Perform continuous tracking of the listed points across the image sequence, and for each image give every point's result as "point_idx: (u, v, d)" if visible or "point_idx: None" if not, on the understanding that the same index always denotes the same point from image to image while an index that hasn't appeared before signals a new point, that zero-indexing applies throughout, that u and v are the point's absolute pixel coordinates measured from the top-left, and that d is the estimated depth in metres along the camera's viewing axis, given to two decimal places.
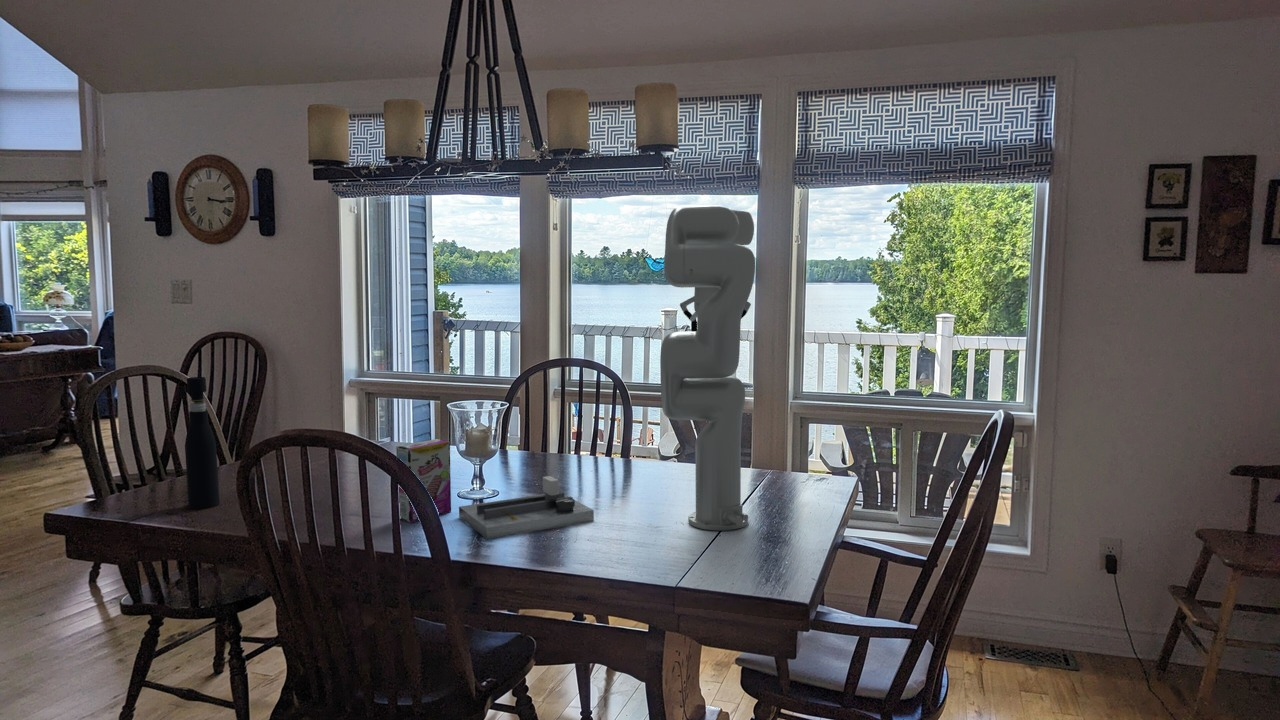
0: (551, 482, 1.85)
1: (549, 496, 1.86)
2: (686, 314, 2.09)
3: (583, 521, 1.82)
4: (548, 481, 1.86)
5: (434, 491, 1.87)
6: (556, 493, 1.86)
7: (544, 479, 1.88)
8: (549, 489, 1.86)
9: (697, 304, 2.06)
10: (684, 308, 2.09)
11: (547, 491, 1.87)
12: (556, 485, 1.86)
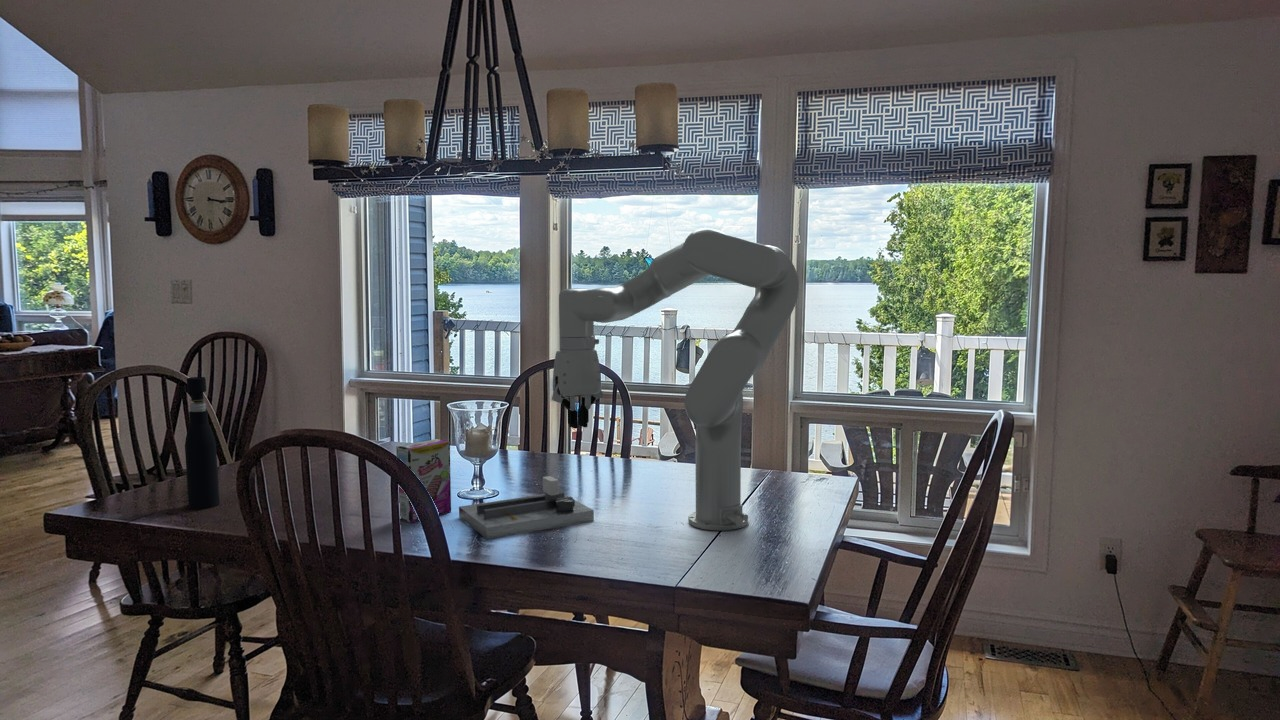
0: (551, 482, 1.85)
1: (549, 496, 1.86)
2: None
3: (583, 521, 1.82)
4: (548, 481, 1.86)
5: (433, 491, 1.87)
6: (556, 493, 1.86)
7: (544, 479, 1.88)
8: (549, 489, 1.86)
9: None
10: None
11: (547, 491, 1.87)
12: (556, 485, 1.86)
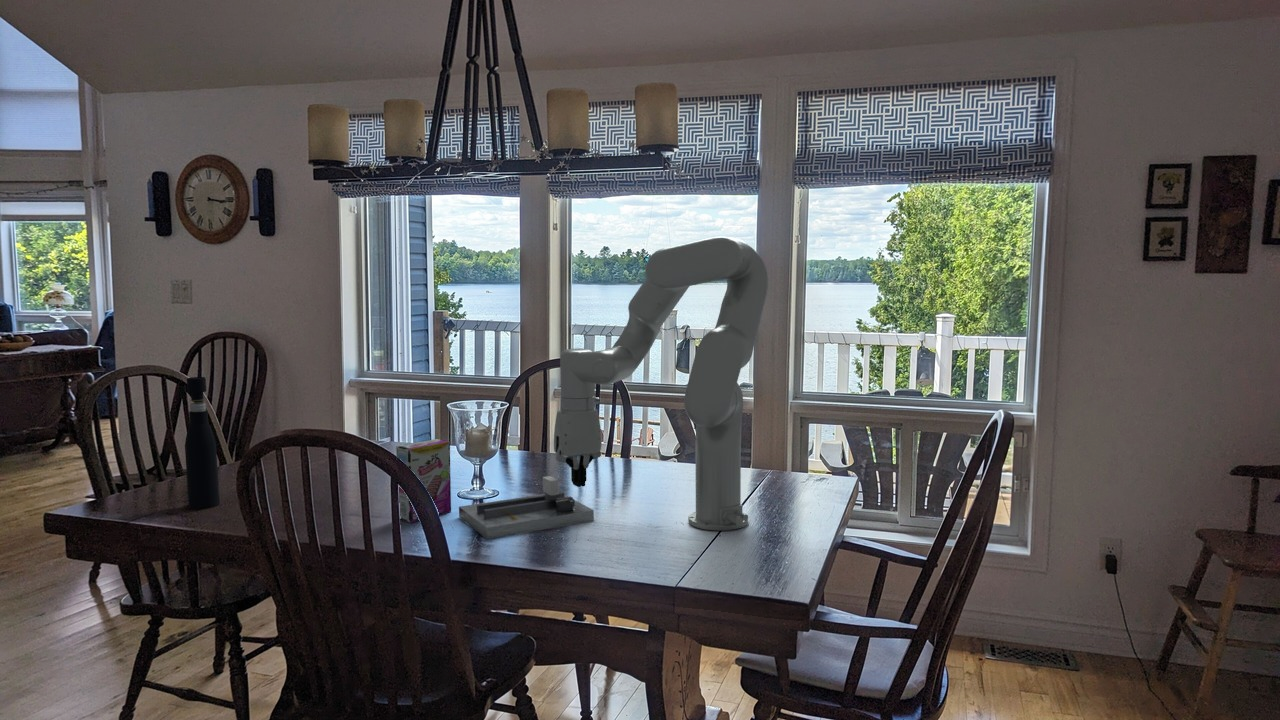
0: (551, 482, 1.85)
1: (549, 496, 1.86)
2: None
3: (583, 521, 1.82)
4: (548, 481, 1.86)
5: (433, 491, 1.87)
6: (556, 493, 1.86)
7: (544, 479, 1.88)
8: (549, 489, 1.86)
9: None
10: None
11: (547, 491, 1.87)
12: (556, 485, 1.86)
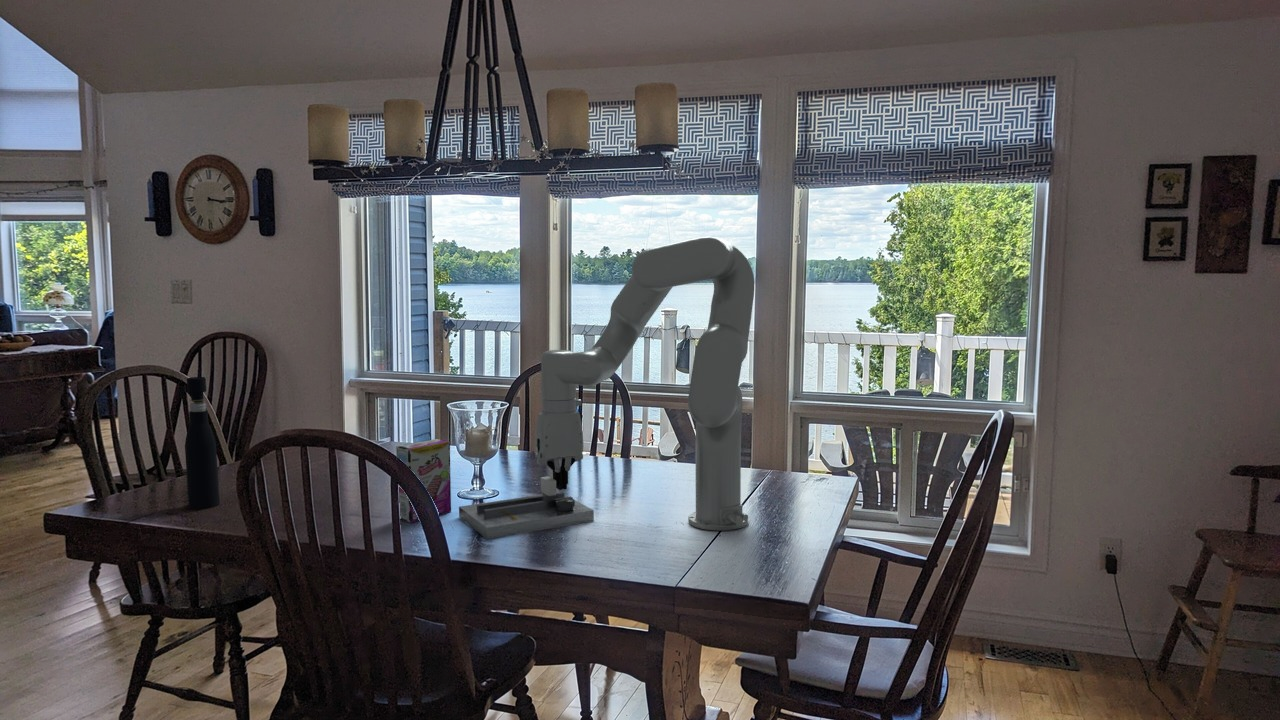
0: (549, 482, 1.85)
1: (547, 496, 1.86)
2: None
3: (583, 521, 1.82)
4: (546, 481, 1.85)
5: (433, 491, 1.87)
6: (554, 493, 1.86)
7: (542, 479, 1.88)
8: (547, 489, 1.85)
9: None
10: None
11: (545, 491, 1.87)
12: (554, 485, 1.85)
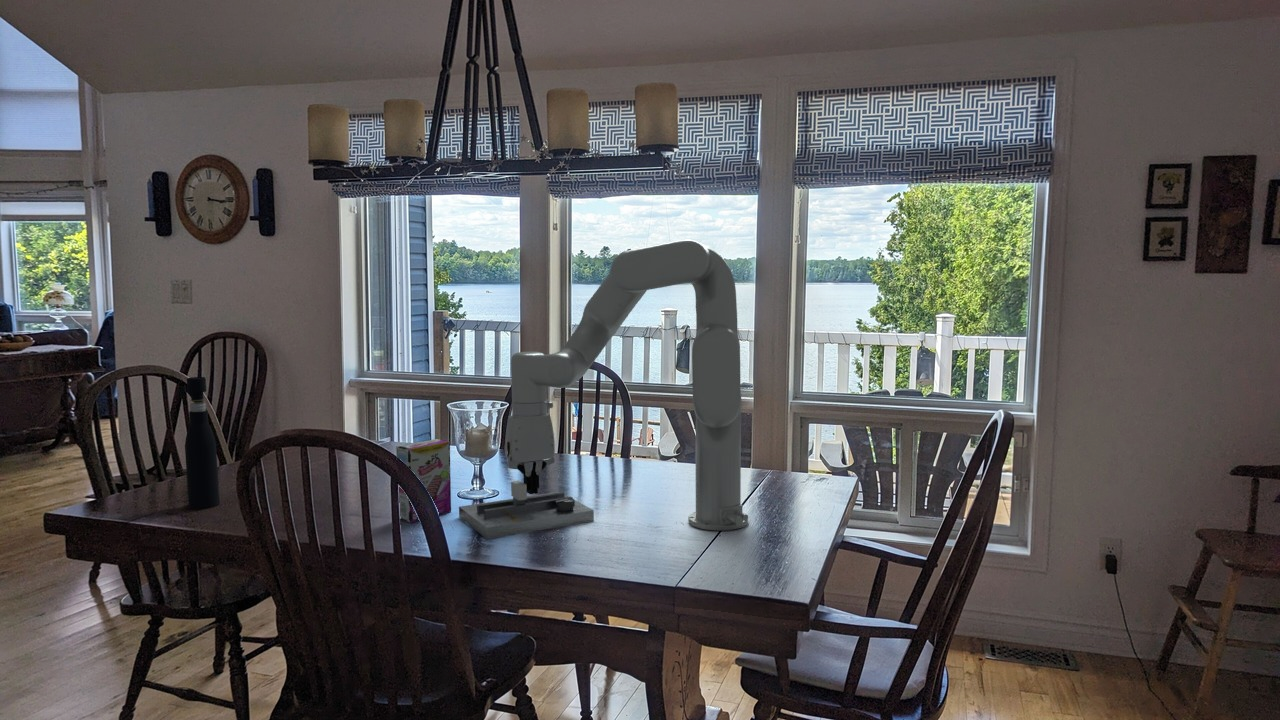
0: (519, 487, 1.81)
1: (517, 501, 1.83)
2: None
3: (583, 521, 1.82)
4: (516, 486, 1.82)
5: (434, 491, 1.87)
6: (524, 498, 1.82)
7: (512, 483, 1.84)
8: (517, 494, 1.82)
9: None
10: None
11: (515, 496, 1.83)
12: (524, 490, 1.82)
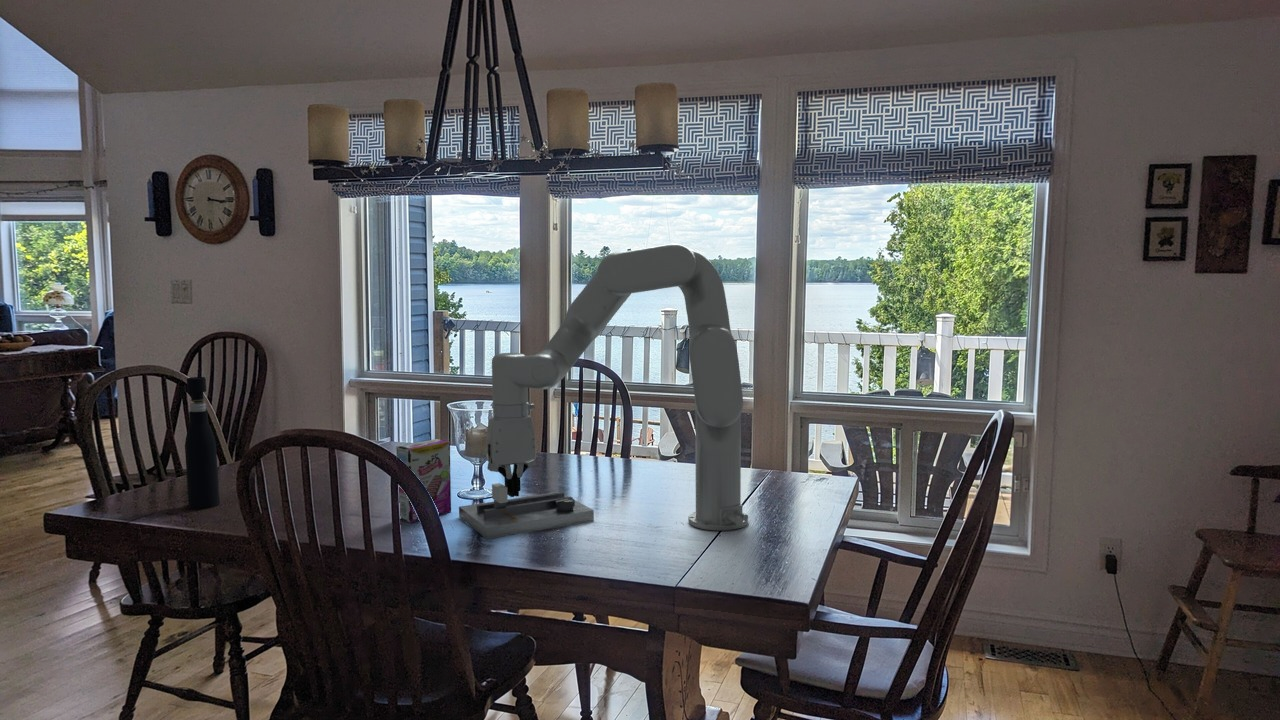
0: (499, 489, 1.79)
1: (498, 504, 1.81)
2: None
3: (583, 521, 1.82)
4: (497, 488, 1.80)
5: (434, 491, 1.87)
6: (505, 501, 1.80)
7: (493, 486, 1.82)
8: (498, 496, 1.80)
9: None
10: None
11: (496, 499, 1.81)
12: (505, 492, 1.80)
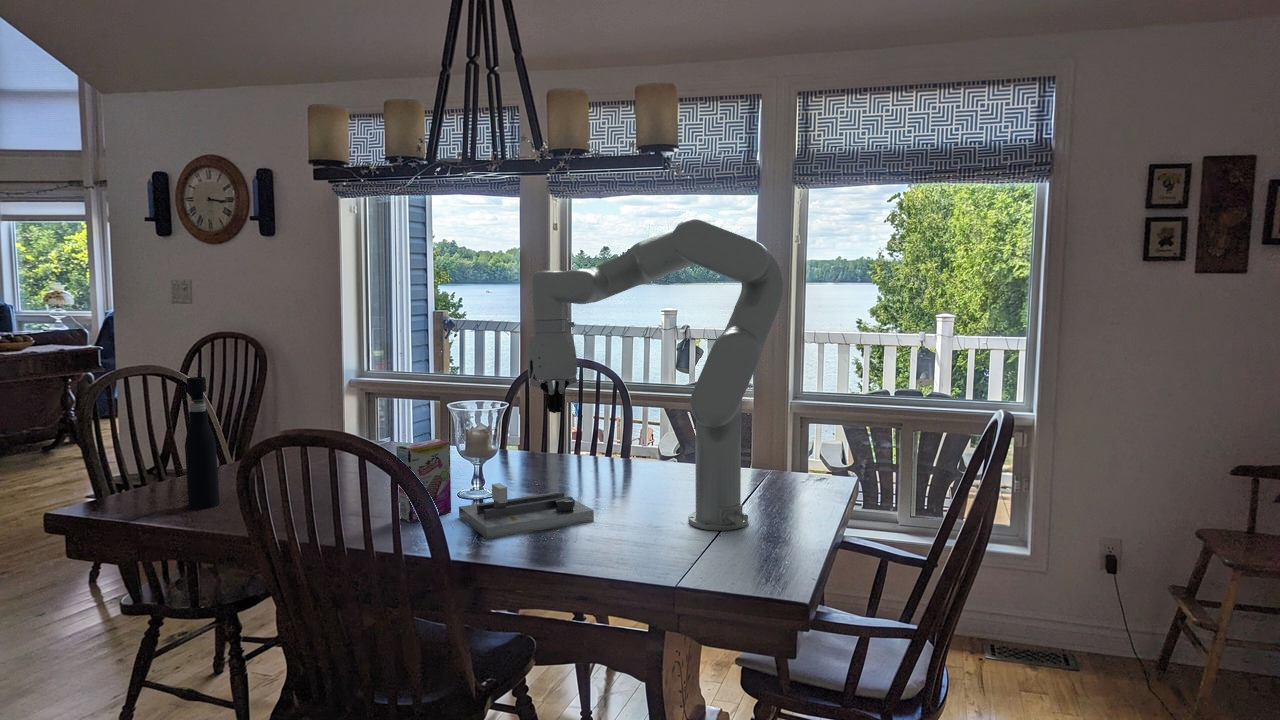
0: (499, 489, 1.79)
1: (498, 504, 1.81)
2: None
3: (583, 521, 1.82)
4: (497, 488, 1.80)
5: (434, 491, 1.87)
6: (505, 501, 1.80)
7: (493, 486, 1.82)
8: (498, 496, 1.80)
9: None
10: None
11: (496, 499, 1.81)
12: (505, 492, 1.80)
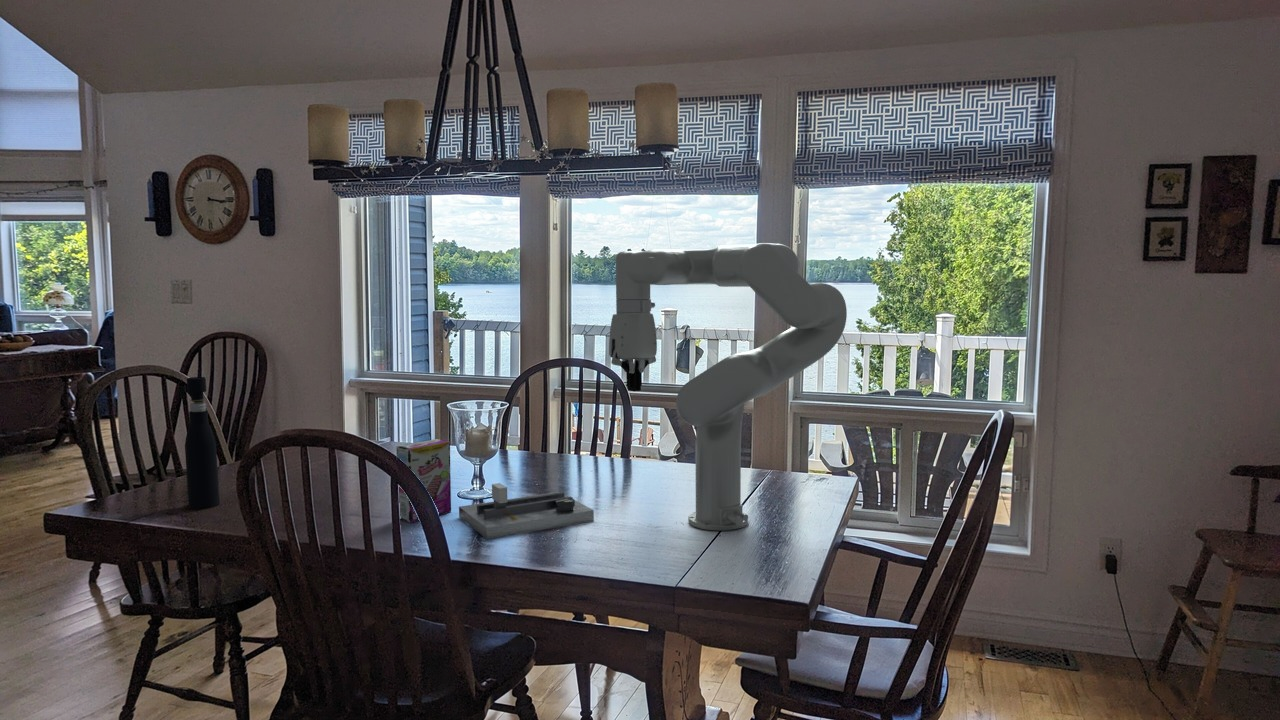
0: (499, 489, 1.79)
1: (498, 504, 1.81)
2: None
3: (583, 521, 1.82)
4: (497, 488, 1.80)
5: (434, 491, 1.87)
6: (505, 501, 1.80)
7: (493, 486, 1.82)
8: (498, 496, 1.80)
9: None
10: None
11: (496, 499, 1.81)
12: (505, 492, 1.80)
